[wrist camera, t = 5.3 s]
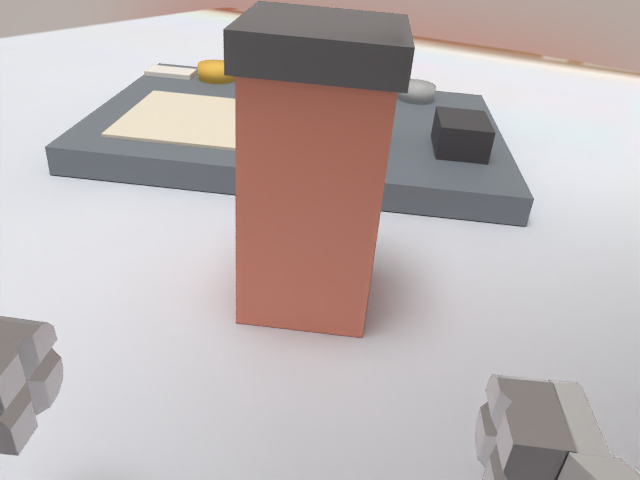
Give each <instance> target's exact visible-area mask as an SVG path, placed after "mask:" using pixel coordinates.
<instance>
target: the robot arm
mask: <svg viewBox="0 0 640 480" xmlns="http://www.w3.org/2000/svg"><path fill="white" fill-rule="evenodd" d="M56 341H57V337H56V333H55V329H54V326H53V325H51V324H49V323H47V322H39V321H32V320H25V319H18V318H11V317H4V316H0V454H7V455H17V456H18V455H19V454H20V452H21V451H22V449H23V448H24V446H25V445H26V443H27V442H28V440H29V439H30V437H31V436H32V434H33V433H34V431H35V430H36V428H37V427H38V424H37V419H36V415H38V414H39V413H41V412H43V411H44V410H46V409H48V408H50V407H51V405H52V404H53V402H54V400H55V399H56V397H57V395H58V393H59V390H60V387H61V383H62V380H63V364H62V359H61V357H60V356H59V355H58V354H57V353H56V352H55V351H54V350H53V349H52V348H51V347H52V346H53V345H54V343H55V342H56ZM486 395H487V400H488V402H487V403H486V404H484V405H483V406H482V407H480V410H479V414H478V418H477V423H476V434H475V438H476V451H477V457H478V460H479V461H480V462H481V464H482V465H483V466H484V467H485V468H486V469H485V472H484V475H483V479H482V480H640V475H638V474H637V473H636V472H635V471H634V470H633V469H632V468H630V467H629V466H628V465H627V464H626V463H625V462H624V461H622V460H621V459H619V458H612V457H611V455H610V453H609V450H608V448H607V445H606V443H605V441H604V438H603V436H602V434H601V431H600V429H599V426H598V424H597V422H596V419H595V417H594V415H593V412H592V410H591V408H590V405H589V403H588V400H587V398H586V396H585V393H584V391H583V389H582V387H581V386H580V385H579V384H578V383H573V382H563V381H553V380H548V381H547V380H540V379H531V378H522V377H513V376H504V375H494V374H492V376H491V377H490V379H489V381H488V384H487V387H486Z"/></svg>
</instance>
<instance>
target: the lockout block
mask: <svg viewBox="0 0 640 480" xmlns="http://www.w3.org/2000/svg"><path fill="white" fill-rule="evenodd" d="M414 49H415V47H414V42H413V38H412V33H411V29H410V24H409V19H408V15H405V14H394V13H384V12H373V11H363V10H352V9H341V8H329V7H320V6H309V5H298V4H288V3H277V2H266V1H258V2H257V3H256V4H254V5H253V6H252V7H251V8H249V9H248V10H247V11H246V12H244V13H243V14H242V15H241V16H239V17H238V18H237V19H236V20H235V21H233V22H232V23H231V24H230V25H228V26H227V27H226V28H225V29H224V75H226V76H235V162H236V323H241V324H249V325H258V326H266V327H275V328H283V329H292V330H300V331H308V332H317V333H325V334H334V335H342V336H351V337H359V338H362V337H363V330H364V323H365V316H366V310H367V303H368V296H369V289H370V282H371V275H372V268H373V261H374V254H375V247H376V240H377V233H378V226H379V219H380V212H381V205H382V199H383V192H384V185H385V178H386V171H387V164H388V157H389V150H390V143H391V136H392V129H393V122H394V115H395V108H396V101H397V95H398V93H407V94H408V88H409V82H410V75H411V69H412V62H413V55H414Z"/></svg>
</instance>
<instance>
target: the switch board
mask: <svg viewBox="0 0 640 480" xmlns="http://www.w3.org/2000/svg"><path fill="white" fill-rule="evenodd" d="M144 73H145V74H144V75H143V76H142V77H140V78H139V79H137V80H136V81H135V82H133V83H132V84H131V85H129V86H128V87H127V88H125V89H124V90H122V91H121V92H120V93H118V94H117V95H116V96H114V97H113V98H111V99H110V100H109V101H107V102H106V103H105V104H103V105H102V106H100V107H99V108H98V109H96V110H95V111H94V112H92V113H91V114H89V115H88V116H87V117H85V118H84V119H83V120H81V121H80V122H79V123H77V124H76V125H74V126H73V127H72V128H70V129H69V130H68V131H66V132H65V133H63V134H62V135H61V136H59V137H58V138H57V139H55V140H54V141H52V142H51V143H50V144H48V145H47V146H46V147H45V149H46V155H47V160H48V165H49V171H50V175H59V176H68V177H77V178H87V179H96V180H105V181H114V182H123V183H133V184H142V185H151V186H160V187H169V188H179V189H188V190H197V191H206V192H215V193H225V194H234V195H236V162H235V76H226V75H224V60H205V61H201V62H199V63H198V67H191V66H180V65H170V64H160V63H159V64H158V65H152V66H151V67H149V68H148V69H147V70H145V71H144ZM435 89H436V86H435V85H434V84H433V83H430V82H428V81H423V80H417V79H410V82H409V88H408V94H407V93H398V95H397V101H396V108H395V115H394V122H393V129H392V136H391V143H390V150H389V157H388V164H387V171H386V178H385V185H384V192H383V199H382V205H381V211H390V212H399V213H409V214H418V215H427V216H436V217H445V218H455V219H464V220H473V221H482V222H491V223H501V224H510V225H519V226H526V224H527V221H528V217H529V214H530V210H531V207H532V204H533V200H534V198H533V196H532V194H531V192H530V190H529V188H528V186H527V184H526V182H525V180H524V178H523V176H522V174H521V173H520V171H519V169H518V167H517V165H516V163H515V161H514V159H513V157H512V155H511V153H510V151H509V149H508V147H507V145H506V143H505V141H504V139H503V137H502V135H501V133H500V131H499V129H498V127H497V125H496V123H495V121H494V119H493V117H492V115H491V113H490V111H489V109H488V107H487V105H486V103H485V101H484V99H483V97H482V96H481V95H473V94H463V93H453V92H442V91H435Z"/></svg>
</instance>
